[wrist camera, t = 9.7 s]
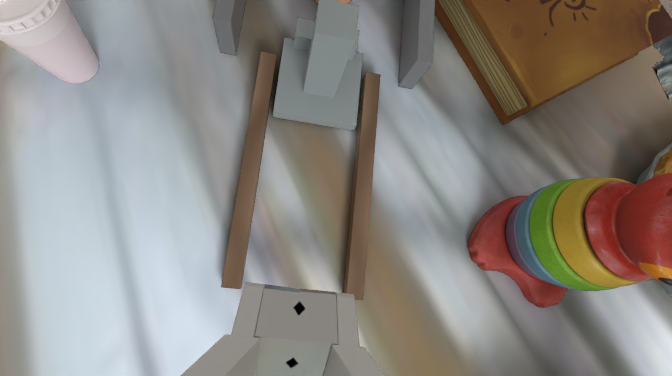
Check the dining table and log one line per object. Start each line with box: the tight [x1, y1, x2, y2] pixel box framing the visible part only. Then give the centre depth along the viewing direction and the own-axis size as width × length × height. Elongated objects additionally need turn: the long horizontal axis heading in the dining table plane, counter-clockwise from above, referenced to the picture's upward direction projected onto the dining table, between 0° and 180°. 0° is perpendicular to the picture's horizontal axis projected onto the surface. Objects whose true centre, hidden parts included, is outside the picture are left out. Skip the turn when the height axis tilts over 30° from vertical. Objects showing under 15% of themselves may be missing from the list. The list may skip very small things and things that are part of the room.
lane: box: [221, 51, 380, 300], centre depth 33 cm, size 12×22×2 cm, turn 174°
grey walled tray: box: [213, 0, 435, 89], centre depth 35 cm, size 20×13×5 cm, turn 84°
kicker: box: [273, 0, 363, 130], centre depth 31 cm, size 8×9×10 cm
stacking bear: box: [468, 172, 672, 308], centre depth 28 cm, size 11×10×18 cm
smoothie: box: [0, 0, 99, 84], centre depth 25 cm, size 6×6×14 cm
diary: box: [434, 0, 672, 125], centre depth 41 cm, size 23×19×6 cm
